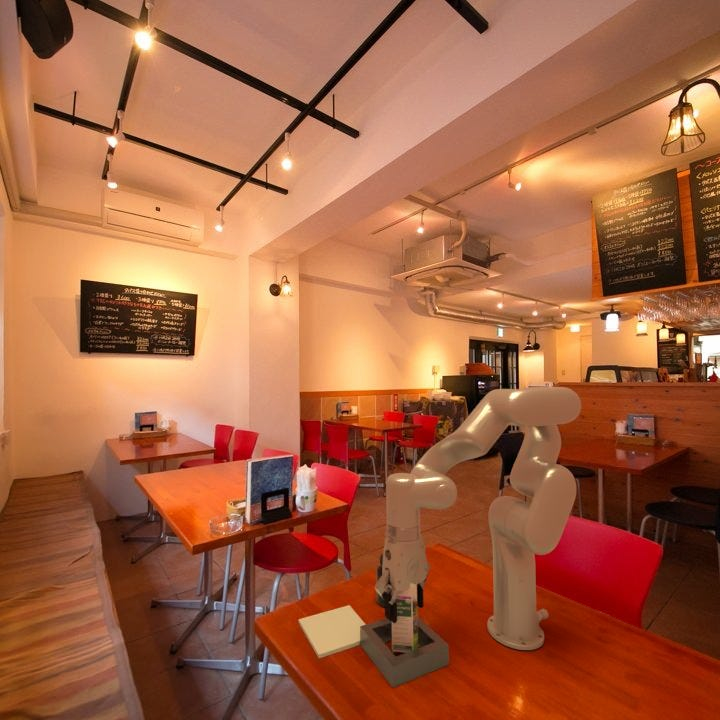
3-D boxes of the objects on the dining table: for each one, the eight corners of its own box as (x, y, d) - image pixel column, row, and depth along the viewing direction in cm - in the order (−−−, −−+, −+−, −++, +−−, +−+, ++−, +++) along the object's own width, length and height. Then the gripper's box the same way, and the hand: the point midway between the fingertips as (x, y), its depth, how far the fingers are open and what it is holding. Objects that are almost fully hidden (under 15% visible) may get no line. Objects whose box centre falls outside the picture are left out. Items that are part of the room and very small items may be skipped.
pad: (349, 608, 102) (349, 605, 102) (375, 639, 89) (375, 635, 89) (298, 622, 95) (298, 619, 95) (318, 658, 83) (318, 654, 83)
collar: (410, 627, 94) (410, 610, 94) (448, 664, 81) (448, 644, 82) (360, 644, 87) (360, 626, 88) (392, 687, 75) (392, 666, 75)
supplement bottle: (395, 593, 109) (395, 549, 110) (405, 606, 103) (405, 560, 104) (372, 597, 107) (372, 552, 108) (381, 611, 101) (381, 563, 101)
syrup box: (391, 652, 82) (390, 582, 83) (392, 634, 88) (391, 569, 89) (418, 655, 81) (416, 584, 82) (418, 636, 87) (416, 570, 88)
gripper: (386, 546, 78) (387, 637, 77) (441, 526, 89) (443, 605, 88) (362, 535, 84) (363, 619, 82) (417, 517, 95) (418, 591, 94)
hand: (404, 611), depth 85 cm, fingers closed on syrup box, 7 cm apart
